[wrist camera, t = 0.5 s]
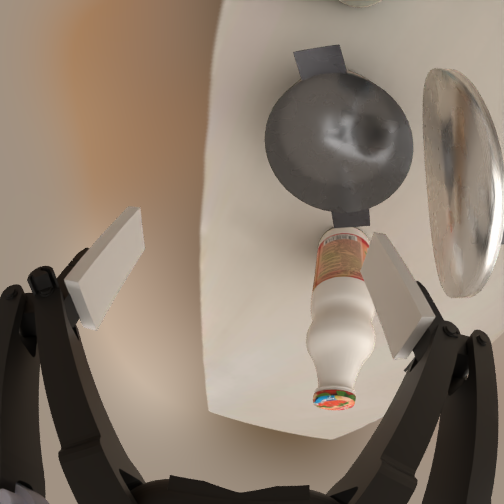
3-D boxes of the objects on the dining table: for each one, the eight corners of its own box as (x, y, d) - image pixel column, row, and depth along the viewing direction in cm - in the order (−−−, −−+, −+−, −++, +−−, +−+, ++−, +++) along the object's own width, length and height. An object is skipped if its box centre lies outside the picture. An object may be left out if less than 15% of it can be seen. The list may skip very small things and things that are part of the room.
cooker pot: (375, 44, 24) (396, 40, 16) (396, 181, 36) (413, 227, 27) (264, 62, 30) (237, 66, 21) (301, 190, 42) (290, 236, 33)
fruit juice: (337, 214, 43) (324, 383, 23) (381, 241, 44) (391, 402, 24) (308, 250, 49) (278, 402, 29) (349, 273, 50) (339, 419, 30)
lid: (413, 62, 16) (445, 64, 15) (423, 214, 25) (449, 214, 24) (494, 87, 5) (550, 100, 4) (446, 345, 14) (483, 343, 13)
